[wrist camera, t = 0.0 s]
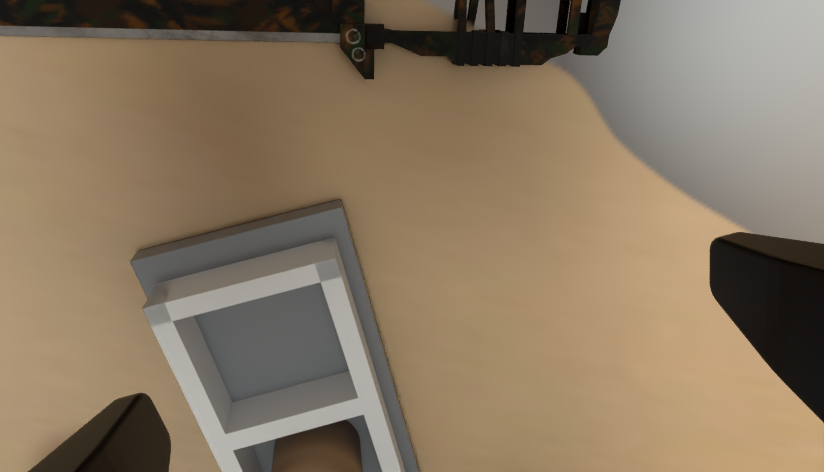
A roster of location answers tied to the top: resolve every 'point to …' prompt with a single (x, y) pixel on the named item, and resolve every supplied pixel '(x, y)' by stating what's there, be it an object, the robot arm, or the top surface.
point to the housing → (275, 337)
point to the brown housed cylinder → (319, 450)
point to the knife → (317, 27)
